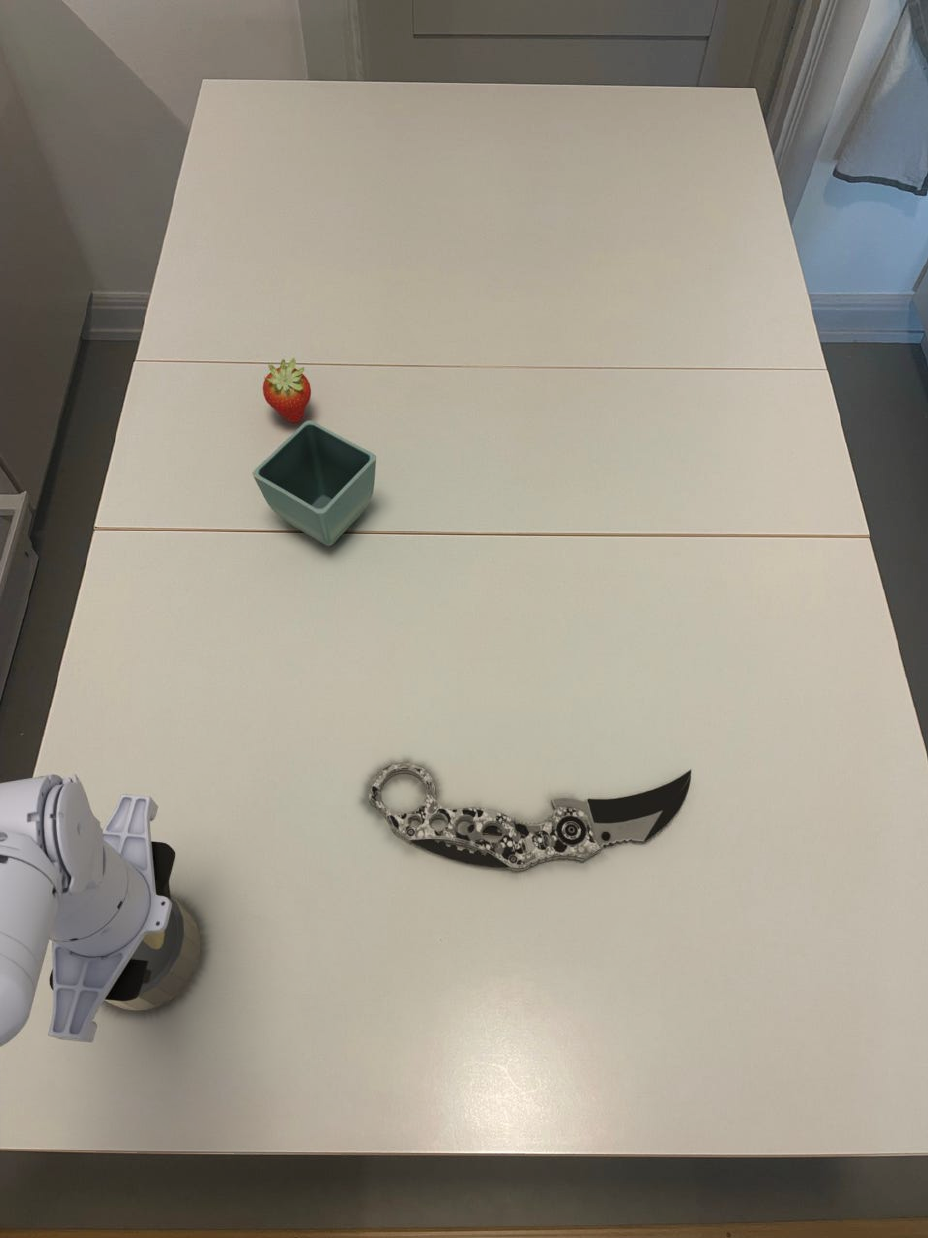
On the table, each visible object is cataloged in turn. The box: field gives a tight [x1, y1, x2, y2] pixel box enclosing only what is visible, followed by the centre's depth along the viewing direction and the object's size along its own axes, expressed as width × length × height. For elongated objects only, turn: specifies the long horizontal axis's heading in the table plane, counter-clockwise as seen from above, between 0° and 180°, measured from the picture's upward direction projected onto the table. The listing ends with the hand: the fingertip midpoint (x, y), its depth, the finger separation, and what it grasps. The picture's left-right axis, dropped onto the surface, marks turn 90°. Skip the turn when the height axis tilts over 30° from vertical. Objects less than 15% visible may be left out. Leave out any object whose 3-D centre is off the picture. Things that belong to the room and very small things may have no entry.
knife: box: [368, 762, 692, 872], centre depth 76 cm, size 28×2×10 cm
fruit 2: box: [262, 357, 312, 423], centre depth 97 cm, size 5×5×8 cm
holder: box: [103, 895, 202, 1012], centre depth 68 cm, size 8×8×6 cm
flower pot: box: [252, 420, 377, 547], centre depth 89 cm, size 9×9×9 cm
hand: (145, 938), depth 62 cm, fingers closed on fruit 1, 4 cm apart
